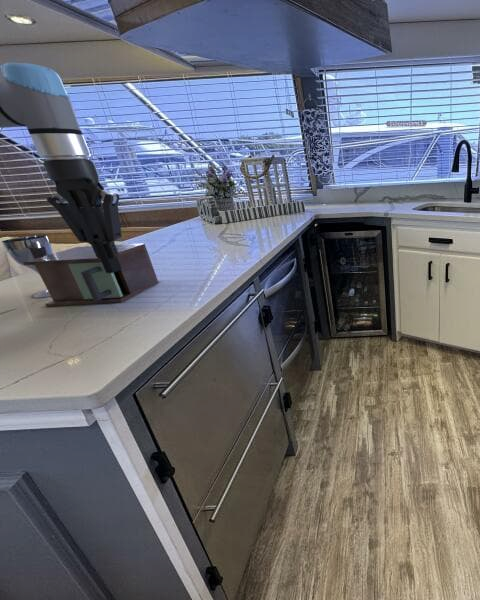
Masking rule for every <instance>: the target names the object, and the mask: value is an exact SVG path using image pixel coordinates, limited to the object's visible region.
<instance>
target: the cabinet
mask: <svg viewBox="0 0 480 600" xmlns="http://www.w3.org/2000/svg"><path fill="white" fill-rule="evenodd" d="M115 246H116V248H117V251H118V253H119V256H117V258H118V261H119V263H120V266H121V268H122V269H121V270H119V271H117V272H114V275H115V278H116V280H117V283H118V285H119V287H120V290H121V292H122V295H123V296H122V297H116V298H102V299H101V300H97V301H94V300H93V299H84V297H83V295H82V293H81V291H80V289H79V287H78V285H77V283H76V280H75V278H74V276H73V274H72V272H71V270H70V268H69V266H68V264H69V263H78V262H97V261H101V259H100V258H97V257H96V255H95V252H94V250H93V248H92V245H89V246H75V247H72V248H68V249H65V250H62V251H57V252H54V253H53V254H50V255H47V256H43V257H39V258H36V259H32V260H29V261H25V262H23V264H24V265H35V266H36V268H37V270H38V272H39V274H40V275H39V274H38V275H39V276H40V278H41V280H42V282H43V283H44V285H45V287H46V290H48V291H49V293H50V295H51V296H50V298H51V299H52V300H50V301H48V302H45V303H44V305H45V307H47V308H49V307H64V306H80V305H97V304H113V303H114V304H115V303H123V302H125V301H127V300H128V299H130V298H132V297H134V296H136V295H138V294H139V293H141V292H143V291H145V290H147V289H148V288H150V287H152V286H154V285H156V284H158V283H159V280H158V277H157V274H156V271H155V269H154V267H153V266H154V265H153V262H152V261H151V258H150V254H149V251H148V249H147V247H146V244H145V243H128V244H127V243H126V244H115Z"/></svg>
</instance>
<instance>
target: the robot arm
mask: <svg viewBox="0 0 480 600" xmlns="http://www.w3.org/2000/svg"><path fill="white" fill-rule="evenodd" d="M0 70H1V73H2V76H1V77H2V78H3V79H0V129H3V128H23V127H25V128H26V129H27V132H28V134H29V135H30V138H31V140H32V143H33V145H34V147H35V150H36V152H37V155H38V156H39V158H41V159H42V158H43V159H45V160H44V161H43V162H42V164H43V168H44V169H45V172H46V174H47V176H48V179H49V180H50V181H53V182H54V185H55V192H56V193H55V194H54V195H53V196H48V197H46V201H47V202H48V203H49V204H50V205H51V206H52V207H53V208H55V210H56V211H57V212H58V214H59V215H60V216H61V218H62V219H63V221H64V223H66V225H67V226H68V228H69V229H70V230H71V232H72V233H73V235H74V237H75V238H76V239H77V240H78V241H79V242H80V243H87V244H89V245H90V246H92V248H93V250H94V252H95V255H96V257H97V258H100V259H101V262H102V264H103V266H104V269H105V271H106V273H114V272H117V271H119V270H121V269H122V268H121V266H120V263H119V261H118V258H117V256H119V253H118V251H117V248H116V246H115V245H116V242H115V241H117V240H119V239H121V238H122V237H123V234H122V227H121V219H120V212H119V201H120V194H118V193H117V192H116V193H112V192H109V191H108V190H105V187H104V186H103V184H102V183H101V182H100V180H99V179H100V174H99V172H98V170H97V167H96V164H95V162H94V161H93V160H92V159H90V158H89V157H91V156H92V154H91V152H90V149H89V147H88V145H87V142H86V139H85V137H84V134H83V132H82V130H81V127H80V124H79V122H78V119H77V116H76V112H75V110H74V107H73V105H72V102H71V99H70V95H69V94H68V92H67V90H66V87H65V86H64V84H63V81H62V78H61V77H60V75H59V74H58V73H57V72H56V71H55V70H53V69H51V68H50V67H47V66H43V65H38V64H33V63H26V62H14V61H13V62H5V63H3V64H1V65H0Z"/></svg>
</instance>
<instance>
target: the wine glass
mask: <svg viewBox="0 0 480 600" xmlns="http://www.w3.org/2000/svg"><path fill="white" fill-rule="evenodd" d="M1 243H2V246H3V247H4V249H5V250H6V252H7V254H9V256H10V257H11V258H12V259H13V260H14V261H15V262H16V263H17V264H18V265H20V266H23V267H25V268H27V269H30V270H32V271H34V272H35V273H37V274H38V275H39V276H40V274H39V272H38V270H37V268H36V266H35V265H24V264H23V262H25V261H29V260H32V259H36V258H39V257H43V256H47V255H50V254H54V253H53V247H52V245H51V242H50V239H49V238H48V236H47V235H44V234H39V235H28V236H20V237H14V238H8V239H4V240H2V241H1ZM47 297H51V295H50V293H49V291H48V290H47V289H45V290H44V291H41V292H38V293H36V294H34V295H33V298H35V299H36V298H37V299H39V298H40V299H41V298H42V299H43V298H47Z"/></svg>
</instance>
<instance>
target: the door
mask: <svg viewBox="0 0 480 600" xmlns="http://www.w3.org/2000/svg"><path fill="white" fill-rule="evenodd" d="M68 266H69V268H70V270H71V272H72V274H73V276H74V278H75V280H76V283H77V285H78V287H79V289H80V291H81V293H82V295H83V297H84V299H93V300H94V301H97V300H101V299H102V298H116V297H122V296H123V295H122V292H121V290H120V287H119V285H118V283H117V280H116V278H115V275H114V273H106V271H105V269H104V266H103V264H102V262H101V261H97V262H78V263H69V264H68Z"/></svg>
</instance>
